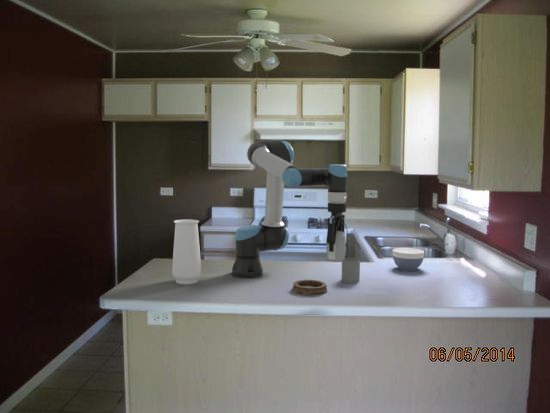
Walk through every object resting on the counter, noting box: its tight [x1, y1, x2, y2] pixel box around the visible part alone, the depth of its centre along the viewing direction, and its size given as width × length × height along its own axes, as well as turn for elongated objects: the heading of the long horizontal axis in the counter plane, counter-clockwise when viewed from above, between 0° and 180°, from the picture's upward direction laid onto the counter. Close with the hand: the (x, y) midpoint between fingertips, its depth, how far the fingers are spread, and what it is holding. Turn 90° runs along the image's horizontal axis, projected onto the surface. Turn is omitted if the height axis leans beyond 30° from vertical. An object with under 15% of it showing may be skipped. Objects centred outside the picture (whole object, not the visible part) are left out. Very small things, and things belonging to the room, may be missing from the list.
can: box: [325, 231, 346, 263], centre depth 217 cm, size 8×8×12 cm
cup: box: [341, 257, 361, 284], centre depth 246 cm, size 8×8×10 cm
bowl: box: [392, 247, 425, 272], centre depth 272 cm, size 16×16×10 cm
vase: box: [172, 218, 202, 285], centre depth 239 cm, size 13×13×28 cm
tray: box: [292, 279, 328, 297], centre depth 229 cm, size 15×15×3 cm
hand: (335, 257), depth 218 cm, fingers closed on can, 7 cm apart
